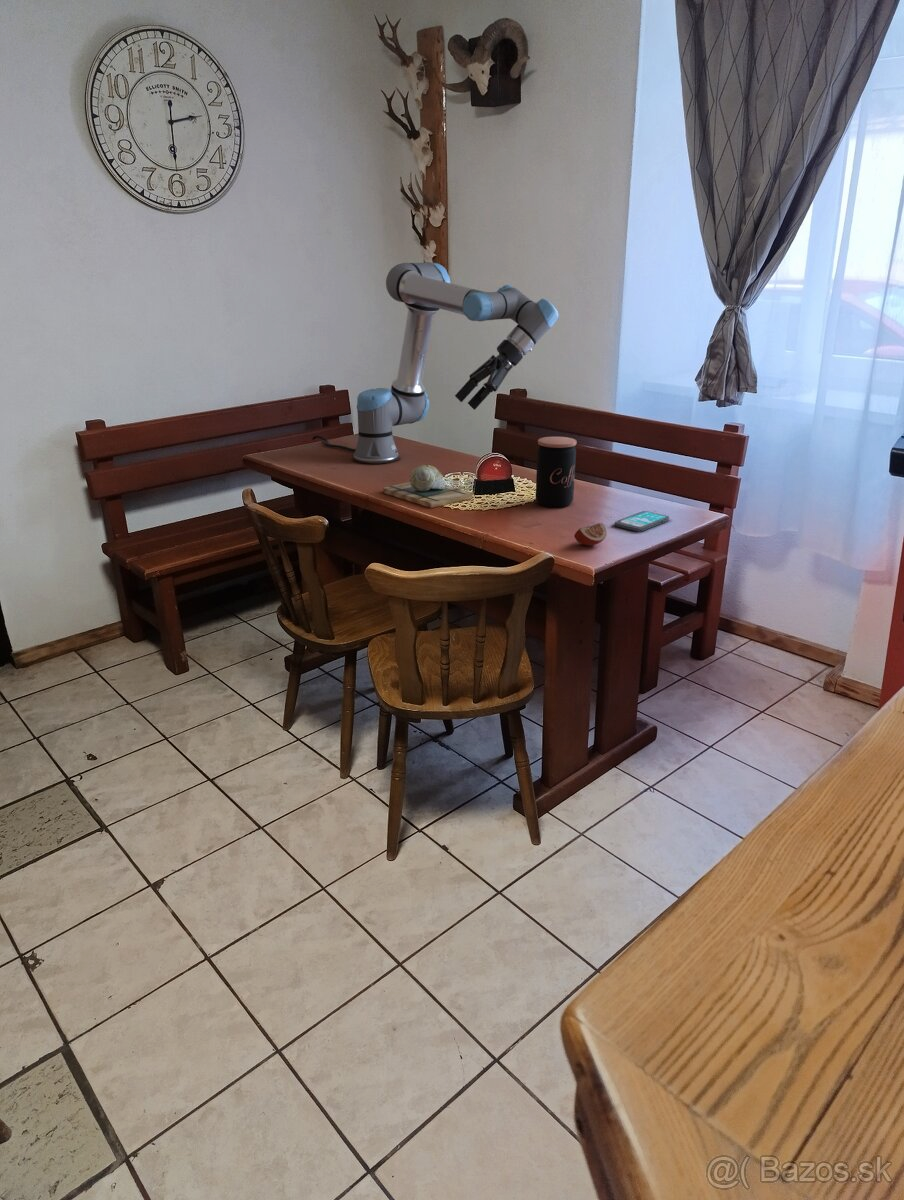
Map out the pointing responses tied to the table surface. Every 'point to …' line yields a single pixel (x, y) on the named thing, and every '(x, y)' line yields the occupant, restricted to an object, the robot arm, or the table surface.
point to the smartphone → (641, 521)
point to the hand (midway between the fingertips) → (464, 402)
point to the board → (428, 495)
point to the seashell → (426, 478)
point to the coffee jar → (555, 471)
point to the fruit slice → (591, 534)
